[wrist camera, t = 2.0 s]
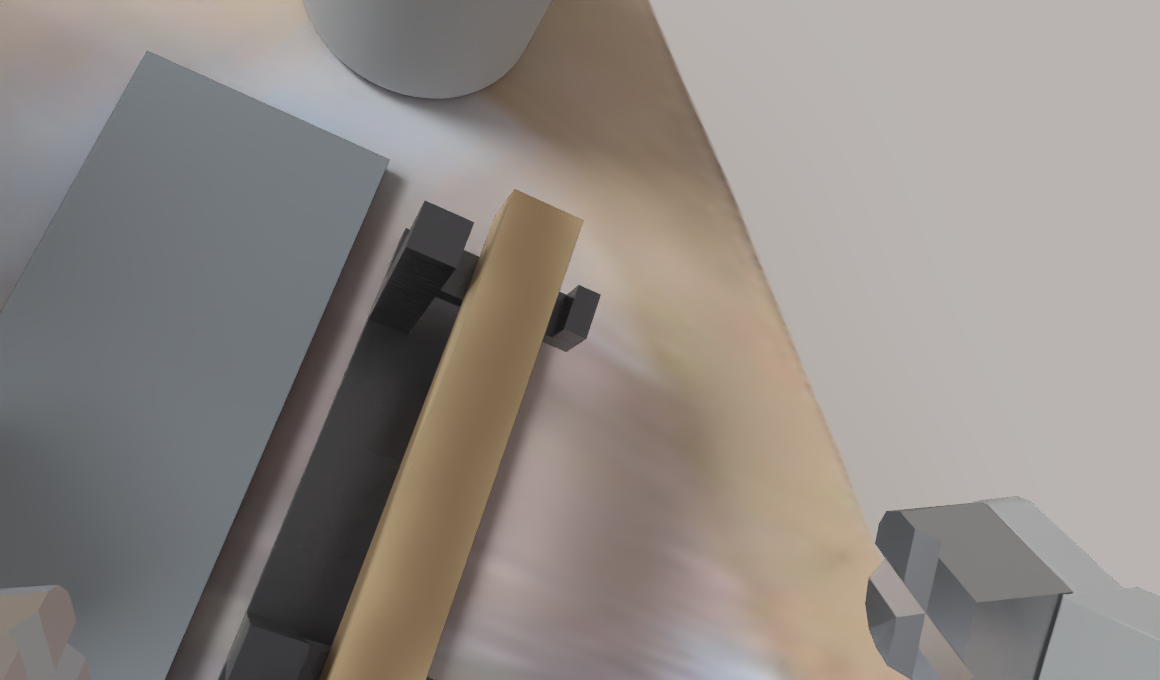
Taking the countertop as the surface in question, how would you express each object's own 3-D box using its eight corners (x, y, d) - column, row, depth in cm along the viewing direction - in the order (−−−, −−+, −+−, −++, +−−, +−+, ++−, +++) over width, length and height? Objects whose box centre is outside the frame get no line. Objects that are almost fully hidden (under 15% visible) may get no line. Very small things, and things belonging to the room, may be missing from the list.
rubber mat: (-179, 652, 36) (-191, 654, 35) (149, 63, 45) (147, 50, 44) (138, 741, 39) (135, 745, 38) (385, 169, 48) (389, 159, 47)
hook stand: (197, 729, 40) (182, 789, 29) (401, 236, 48) (451, 134, 37) (377, 781, 42) (429, 856, 31) (546, 298, 49) (635, 219, 38)
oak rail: (286, 764, 32) (291, 781, 30) (495, 215, 40) (514, 189, 37) (369, 787, 33) (382, 807, 30) (559, 244, 40) (583, 220, 38)
